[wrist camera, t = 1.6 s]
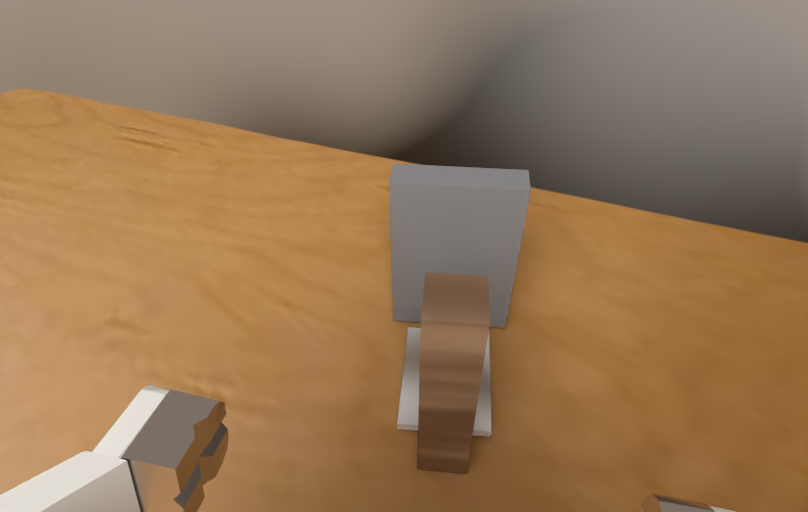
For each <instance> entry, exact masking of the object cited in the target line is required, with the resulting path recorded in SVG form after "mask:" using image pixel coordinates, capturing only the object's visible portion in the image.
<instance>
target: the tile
mask: <svg viewBox="0 0 808 512" xmlns="http://www.w3.org/2000/svg"><path fill="white" fill-rule="evenodd" d="M530 192H531V188H530V180H529V172H528V170H513V169H493V168H472V167H450V166H430V165H410V164H393V166H392V171H391V176H390V181H389V196H390V229H391V261H392V294H393V320H395V321H410V322H421V313H422V303H423V292H424V282H425V272H430V273H445V274H461V275H477V276H489V317H490V326H489V327H496V328H505V327H506V322H507V316H508V311H509V305H510V300H511V295H512V289H513V284H514V278H515V273H516V267H517V262H518V257H519V251H520V246H521V240H522V235H523V230H524V224H525V219H526V213H527V208H528V202H529V197H530Z"/></svg>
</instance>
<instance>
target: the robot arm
mask: <svg viewBox="0 0 808 512" xmlns="http://www.w3.org/2000/svg"><path fill="white" fill-rule="evenodd" d="M225 415H226V410H225V403H224V402H221V401H217V400H213V399H208V398H204V397H200V396H196V395H192V394H188V393H184V392H180V391H175V390H171V389H167V388H162V387H158V386H153V385H148V386H146V387H145V388H143V389H142V390H140V392H139V393H138V394H137V395H136V397H135V398H134V399H133V400H132V402H131V403H130V404H129V406H128V407H127V408H126V409H125V411H124V412H123V413H122V414H121V416H120V417H119V418H118V419H117V421H116V422H115V423H114V425H113V426H112V427H111V428H110V430H109V431H108V432H107V433H106V435H105V436H104V437H103V438H102V440H101V441H100V442H99V444H98V445H97V446H96V447H95V449H94V450H93V451H92V452H90V451H85V450H84V451H82V452H81V453H79V454H77V455H75V456H73V457H71V458H69V459H67V460H65V461H64V462H62V463H60V464H58V465H56V466H54V467H52V468H50V469H48V470H47V471H45V472H43V473H41V474H39V475H37V476H35V477H33V478H31V479H30V480H28V481H26V482H24V483H22V484H20V485H18V486H16V487H14V488H13V489H11V490H9V491H7V492H5V493H3V494H1V495H0V512H197V511H198V509H199V507H200V505H201V503H202V501H203V499H204V498H205V497H204V490H203V485H204V484H205V483H207V482H208V481H210V480H211V479H213V478H214V477H216V475H217V473H218V471H219V469H220V467H221V465H222V463H223V460H224V457H225V454H226V451H227V446H228V429H227V428H226V427H225V425H224V424H223V423H222V420H223V419H224V417H225ZM642 508H643V512H736V511H732V510H727V509H722V508H718V507H713V506H707V505H706V504H702V503H697V502H692V501H687V500H682V499H677V498H672V497H667V496H662V495H657V494H650V495H648V496H647V497H646V498H645V500H644V502H643V503H642Z"/></svg>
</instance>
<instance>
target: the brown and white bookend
mask: <svg viewBox="0 0 808 512" xmlns="http://www.w3.org/2000/svg"><path fill="white" fill-rule="evenodd" d="M489 326H490V317H489V276H477V275H461V274H445V273H430V272H425V282H424V292H423V303H422V313H421V328H415V327H408V335H407V343H406V352H405V361H404V369H403V378H402V386H401V395H400V403H399V412H398V421H397V429H403V430H415V431H418V459H417V469H420V470H431V471H442V472H454V473H465V474H467V467H468V461H469V454H470V448H471V442H472V435H474V436H485V437H491V432H492V429H491V386H490V343H489V333H488V332H489Z"/></svg>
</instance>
